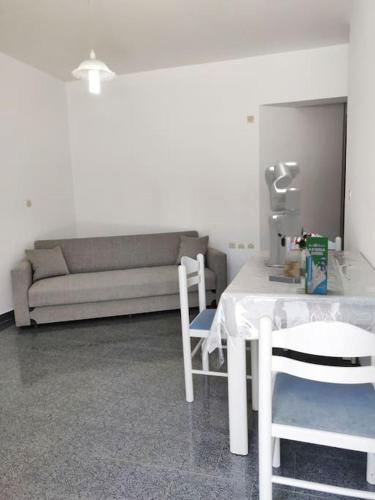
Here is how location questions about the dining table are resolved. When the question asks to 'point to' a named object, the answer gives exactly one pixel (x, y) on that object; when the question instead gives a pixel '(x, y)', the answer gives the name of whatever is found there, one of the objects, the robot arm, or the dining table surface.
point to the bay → (288, 278)
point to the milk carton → (316, 265)
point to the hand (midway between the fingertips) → (292, 246)
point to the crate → (291, 269)
